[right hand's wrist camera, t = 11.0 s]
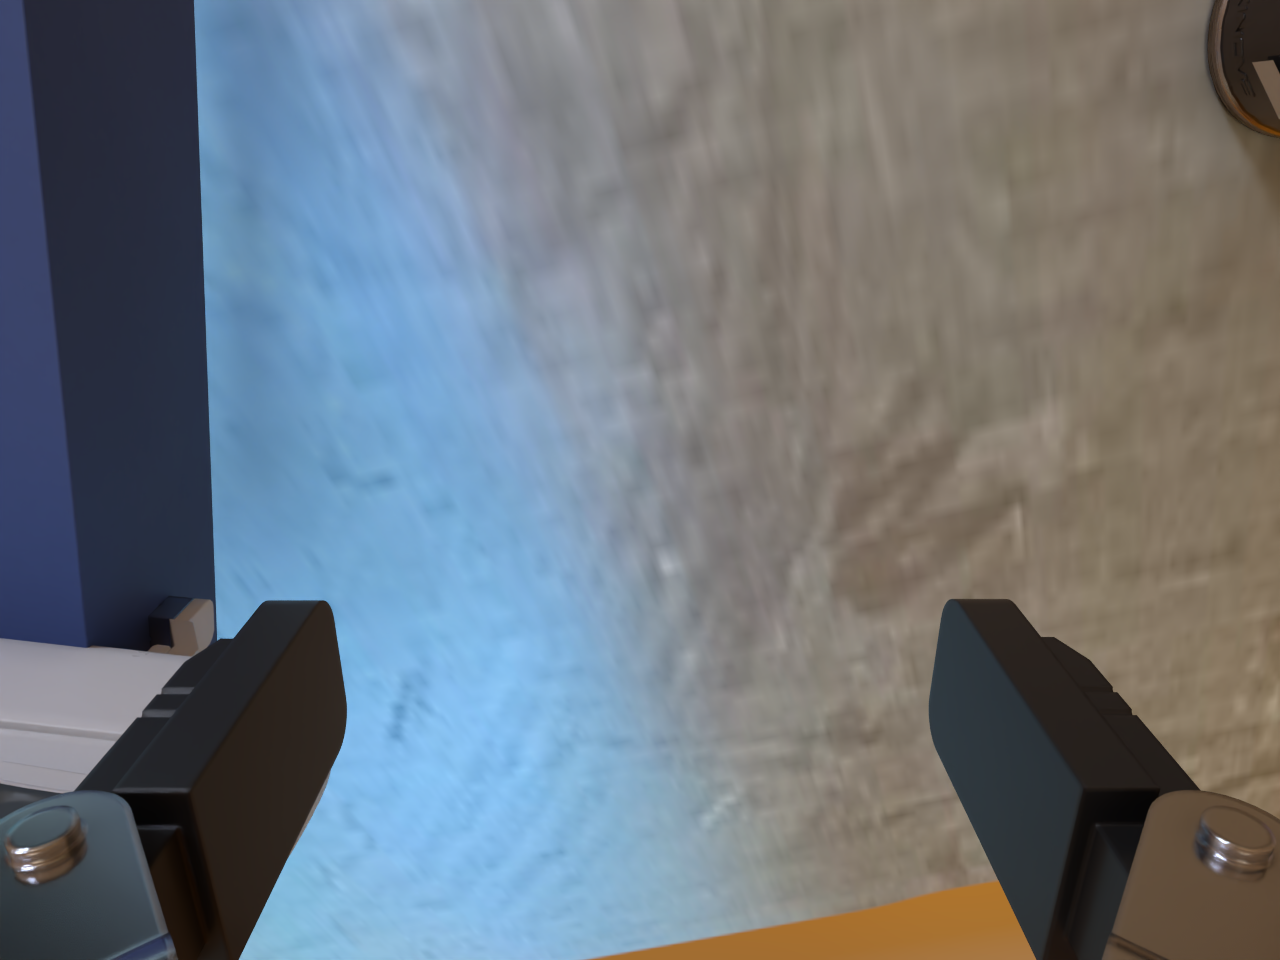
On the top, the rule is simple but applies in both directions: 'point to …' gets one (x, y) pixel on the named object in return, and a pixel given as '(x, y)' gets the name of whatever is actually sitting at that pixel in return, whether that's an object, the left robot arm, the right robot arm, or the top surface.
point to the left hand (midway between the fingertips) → (95, 602)
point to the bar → (101, 322)
